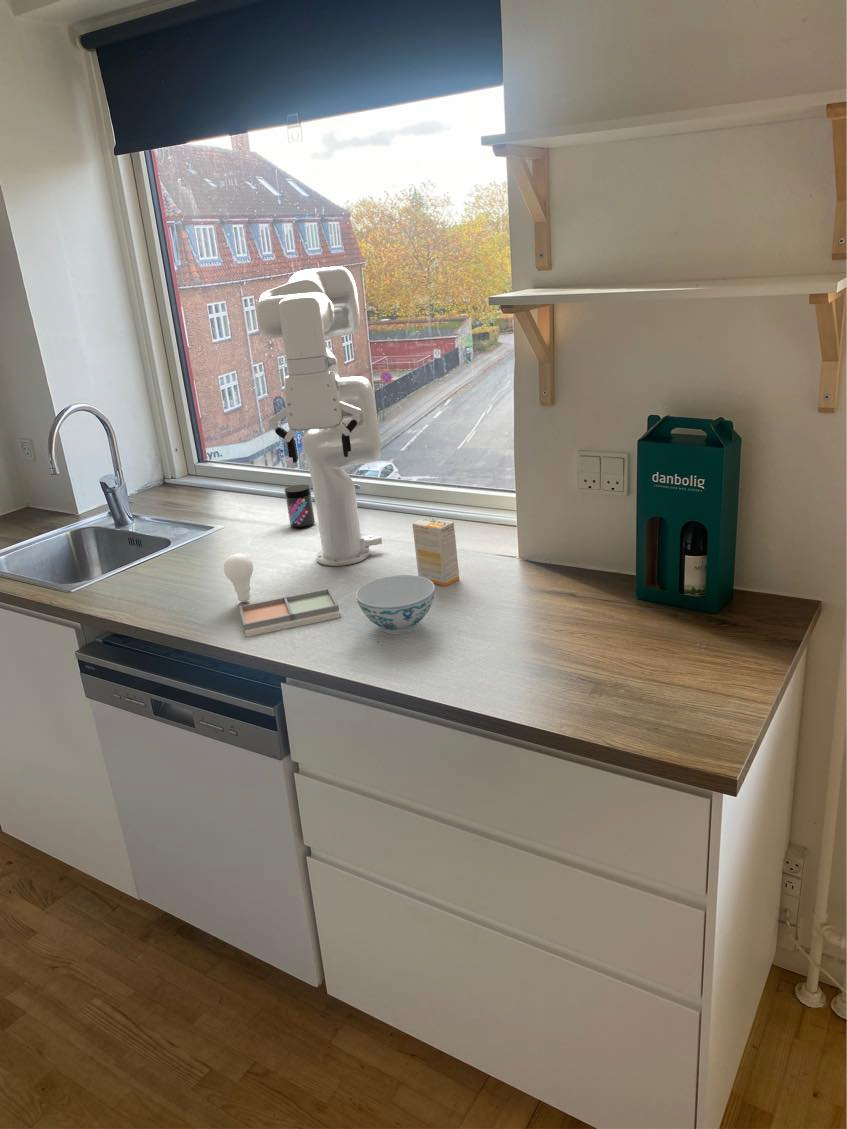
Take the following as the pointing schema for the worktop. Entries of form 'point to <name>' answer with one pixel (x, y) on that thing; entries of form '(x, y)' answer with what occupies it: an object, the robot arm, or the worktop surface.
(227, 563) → the lightbulb
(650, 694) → the worktop surface
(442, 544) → the supplement box
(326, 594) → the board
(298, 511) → the supplement container
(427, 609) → the chinaware
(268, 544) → the worktop surface
